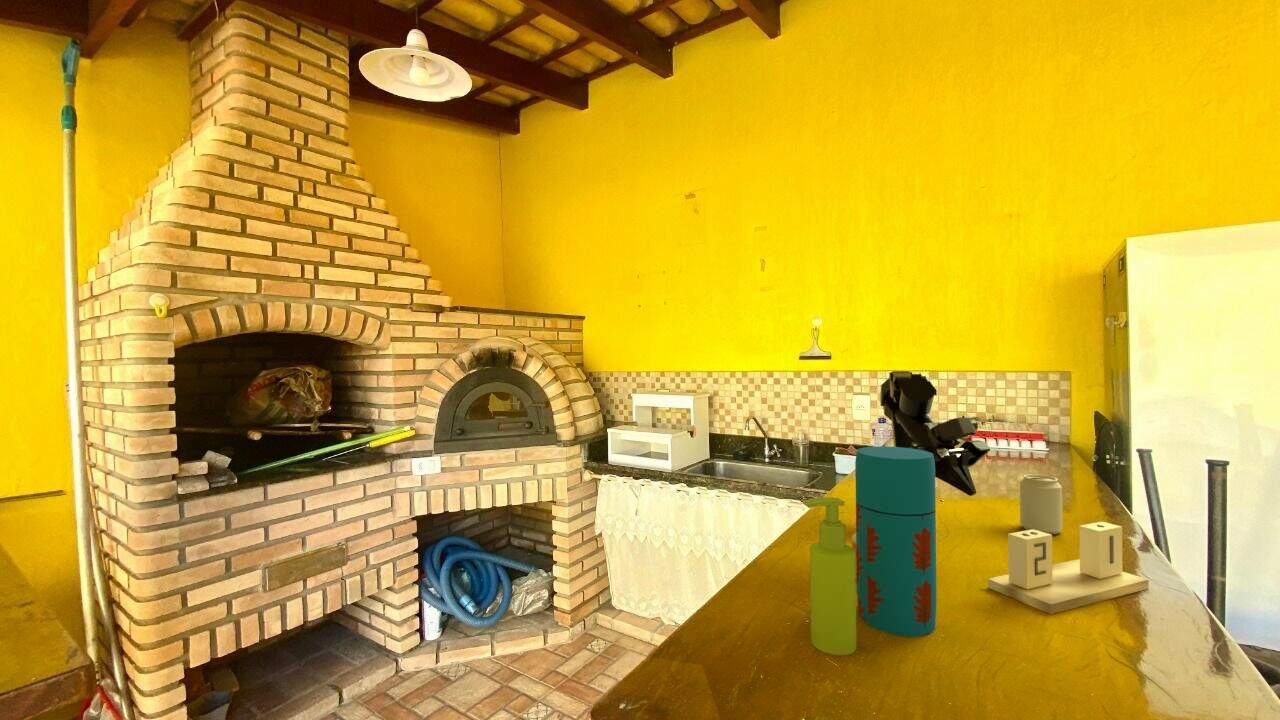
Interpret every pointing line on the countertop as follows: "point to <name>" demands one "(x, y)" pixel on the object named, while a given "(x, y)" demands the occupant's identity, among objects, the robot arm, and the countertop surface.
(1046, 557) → the cream numbered block 2
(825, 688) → the countertop surface
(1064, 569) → the beige wooden board
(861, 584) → the thermos
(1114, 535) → the cream numbered block 1
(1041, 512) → the can
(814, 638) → the soap dispenser
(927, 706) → the countertop surface
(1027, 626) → the countertop surface
